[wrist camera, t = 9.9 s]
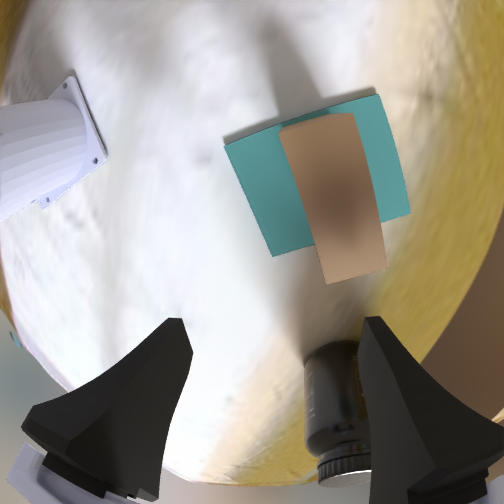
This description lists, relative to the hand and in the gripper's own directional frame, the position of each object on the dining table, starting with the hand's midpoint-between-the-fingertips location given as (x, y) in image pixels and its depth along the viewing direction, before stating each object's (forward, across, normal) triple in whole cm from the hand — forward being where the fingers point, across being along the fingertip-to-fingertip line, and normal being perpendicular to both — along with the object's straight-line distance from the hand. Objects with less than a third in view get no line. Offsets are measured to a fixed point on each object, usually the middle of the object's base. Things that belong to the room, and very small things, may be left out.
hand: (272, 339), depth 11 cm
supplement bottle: (+10, -5, +13) cm, 17 cm away
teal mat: (+9, -3, -4) cm, 11 cm away
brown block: (+9, -3, -4) cm, 10 cm away
